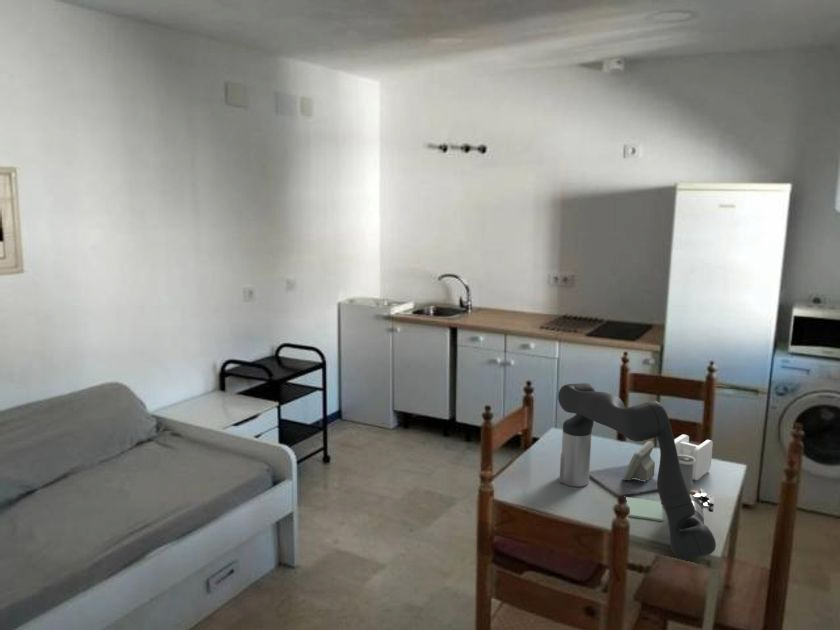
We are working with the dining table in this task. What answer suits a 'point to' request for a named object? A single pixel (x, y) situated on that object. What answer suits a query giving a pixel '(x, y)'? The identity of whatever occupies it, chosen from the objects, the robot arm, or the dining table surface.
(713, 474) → the dining table surface
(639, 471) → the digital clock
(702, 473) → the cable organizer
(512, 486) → the dining table surface
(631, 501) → the green mat
